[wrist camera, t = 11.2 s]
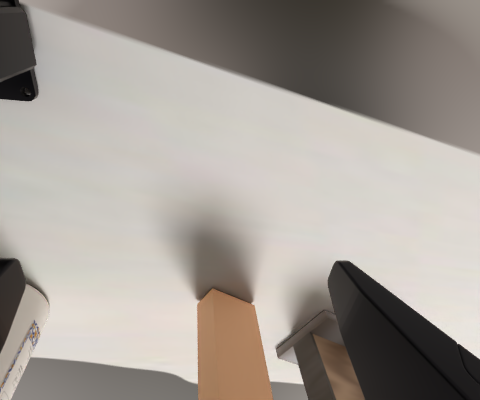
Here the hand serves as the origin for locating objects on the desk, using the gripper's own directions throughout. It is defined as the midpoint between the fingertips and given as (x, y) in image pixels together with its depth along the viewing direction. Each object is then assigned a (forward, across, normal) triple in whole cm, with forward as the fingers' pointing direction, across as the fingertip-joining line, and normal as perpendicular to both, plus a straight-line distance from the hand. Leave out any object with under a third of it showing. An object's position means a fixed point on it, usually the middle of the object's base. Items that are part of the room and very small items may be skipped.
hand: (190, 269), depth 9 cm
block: (+13, -4, +18) cm, 22 cm away
